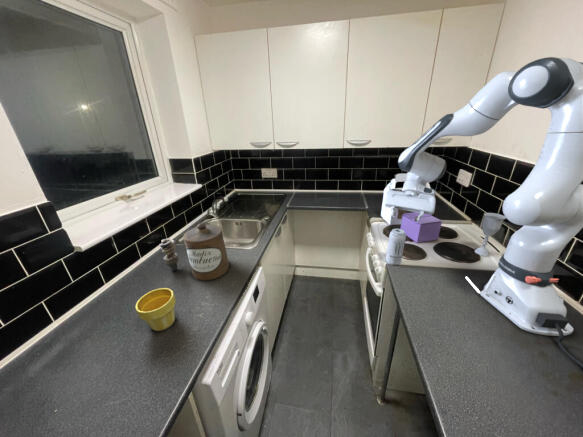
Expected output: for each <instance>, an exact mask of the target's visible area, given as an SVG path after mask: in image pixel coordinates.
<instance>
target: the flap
mask: <svg viewBox="0 0 583 437" xmlns="http://www.w3.org/2000/svg"><path fill="white" fill-rule="evenodd" d="M412 220H413V221H415V218H414V219H412ZM415 222H416V221H415ZM435 222H442V223H443V220H442V219H439V218H437V217H435V216H433V215H432V216H429V217H422V218H420V219H419V222H417V223H419V224H428V223H435Z"/></svg>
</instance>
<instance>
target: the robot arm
mask: <svg viewBox="0 0 583 437" xmlns="http://www.w3.org/2000/svg"><path fill="white" fill-rule="evenodd" d="M518 105H521V106H523V107H524V106H525V107H531V108H537V109H548V110H549V112H550V115H551V116H550V122H549V124H548V128H547V131H546V133H545V137H544V140H543V144H542V147H541V149H540V152H539V156H538V158H537V160H536V162H535V165H534V167H533V168H532V170H531V171H530V173H529V174H528V175H527V177H526V178H525V179H524V181H523V182H522V183H521V185H520V186H519V187H517V189H515V190H514V191H513V192H512V193H510V194H508V195H507V197H505V199H504V201H503V202H502V213H503V216H505V217H506V218H505V219H506V220H508V221H509V222H510V223H512V224H515V225H518V226H522V227H520V228H519V229H518V230H515V232H514V233H513V234H512V235H511V236H510V238H509V241H508V243H507V246H506V248H505V251H504V253H502V254H501V256H500V258H499V259H498V264H497V265H498V267H497V268H496V270H495V271H494V272H493V274H492V275H491V277H490V278H489V280H488V281H487V283H485V285H484V286H483V289H482V290H481V291H480V290H479V288H478V287H477V286H476V285H475V284H474V283H473V282H472V281H471V279H470V278H469V277H468V276H465V279H466V281H468V283H469V284H470V285H471V286H472V287H473V289H474V290H475V291H476V292H477V293H478V294H479V295H480V297H482V298H483V299H484V300H486V301H487V302H488V303H489V304H490V305H491V306H492V307H494V308H495V309H497V310H498V312H500V313H501V314H503V315H504V316H505V317H506V318H507V319H508V320H510V321H511V322H512V323H513V324H515V325H516V326H517V327H518V328H520V329H521V330H523V331H525V332H528V333H532V334H536V335H542V336H549V337H550V336H552V337H557V339H556V344H557V346H558V347H559V348H560V350H561V351H563V352H564V353H565V354H566V355H567V356H568V357H569V358H570V359H571V360H572V361H573V362H574V363H576V364H577V365H578V366H579V367H580V368H582V369H583V362H582V361H581V360H579V359H578V358H576V357H575V356H573V354H572V353H570V352H569V351H568V350H567V349H566V348H565V346H564V345H563V340H564V339H565V337H566V336H570V335H571V334H573V332H574V330H575V329H574V327H573V326H572V325H571V324H570V323H569V322H570V320H569V319H568V318H567V313H568V310H567V307H566V306H565V304H564V303H565V302H564V299H563V298H562V297H561V296H560V295H559V293H558V292H557V290H556V289H555V286H554V285H553V283H558V282H559V280H560V279H559V278H554V269H553V268H554V267H555V265H556V263H557V262H558V258H559V257H560V255H561V253H562V252H563V250H564V249H565V247H566V246H567V245H568V244H569V243H570V241H572V239H574V237H575V236H576V235H577V234H578V233H579V232H580V231H581V230H582V229H583V184H582V182H583V62H581V61H576V60H575V59H573V58H568V57H555V56H549V57H548V56H547V57H541V58H538V59H535V60H533V61H531V62H528V63H526V64H525V65H524V66H522V67H520V69H518V70H517V71H515V70H505V71H502V72H500V73H498V74H496V75H495V76H494V77H492V78H491V80H489V81H488V82H487V83H486V84H485V85H484V86H482V88H481V89H479V91H478V92H476V93H475V95H474V96H473V97H472V98H471V99H470V100H469V101H468V102H467V103H466V104H465V105H464V106H462V108H460V109H458V110H457V111H455V112H453V113H447V114H445V115H444V116H442V117H440V119H438V120H437V121H436V122H435V123H433V125H432V126H431V127H429V128H428V129H427V130H426V131H425V132H424V133H423V134H422V135H421V136H420V137H419V138H418V139H416V140H415V141H414V142H413V143H412V144H411V145H409V146H408V147H407V148H405V150H403V151H402V152H401V153H400V155H399V157H398V159H397V164H398V167H399V169H400V170H401V171H403V172H406V173H407V179H406V181H404V182H403V186H402V188H403V189H402V190H401V189H390V190H388V192H387V196H386V199H385V201H384V204H385V206H386V207H389V208H391V211H392V215H391V217H395V216H396V212H394V211H393V210H395V209H401V210H406V211H412V212H418V213H420V215H419V216H418V217H417V216H416V217H415V221H416V222H419V219H420V218H421V217H422V216H423V215H424V214H429V215H432V216H433V215H434V213H435V210H436V204H437V202H436V201H437V199H436V190H435V189H434V188H432V187H431V188H428V187H426V183H427V182H429V183H432V182H435V181H438V180H441V178H443V177H444V175H445V173H446V171H447V162H446V159H443V158H441V157H440V156H437V155H435V154H431V153H429V152H427V151H426V150H427V149H429V147H430V146H432V145H433V143H435V142H437V140H439V139H441V138H444V137H455V136H456V137H457V136H458V137H474V136H479V135H482V134H484V133H487V132H488V131H490V130H491V129H492V128H493V127H494V126H495V125H497V123H499V121H501V120H502V119H503V118H504V117H505V116H506V115H507V114H508V113H509V112H510V111H511V110H512V109H514V108H515V107H516V106H518Z"/></svg>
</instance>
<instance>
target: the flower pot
mask: <svg viewBox="0 0 583 437" xmlns="http://www.w3.org/2000/svg"><path fill="white" fill-rule="evenodd" d="M176 302H177V300H176V296H175V293H174V291H173V290H172V289H170V288H169V287H159V288H155V289H153V290H150V291H148V292H147V293H145V294H144V295H142V296H141V297H140V298H139V299H138V300H137V301H136V304H135V305H134V306H135V308H134V309H135V311H136V313H137V315H138V318H140V319H141V320H143V321H145V323H147V325H148V326H149V327H150V328H151V329H152V330H154V331H156V332H161V331H164V330H167V329H168V328H170V327H171V326H172V325H173V324H174V322H175V320H176V314H175V305H176Z"/></svg>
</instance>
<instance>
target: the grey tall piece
mask: <svg viewBox="0 0 583 437" xmlns="http://www.w3.org/2000/svg"><path fill="white" fill-rule="evenodd" d="M159 247H160V250H161V252H162V253H163V254H166V255H165V256H164V257H163V260H164V263H165V265H167V266H168V267H169V270H170V271H172V272H175V271H176V269H178V263H179V256H178V253H177V252H176V249H177V248H176V243H175V240H173V239H171V238H163V239H162V240H161V243H159Z"/></svg>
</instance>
